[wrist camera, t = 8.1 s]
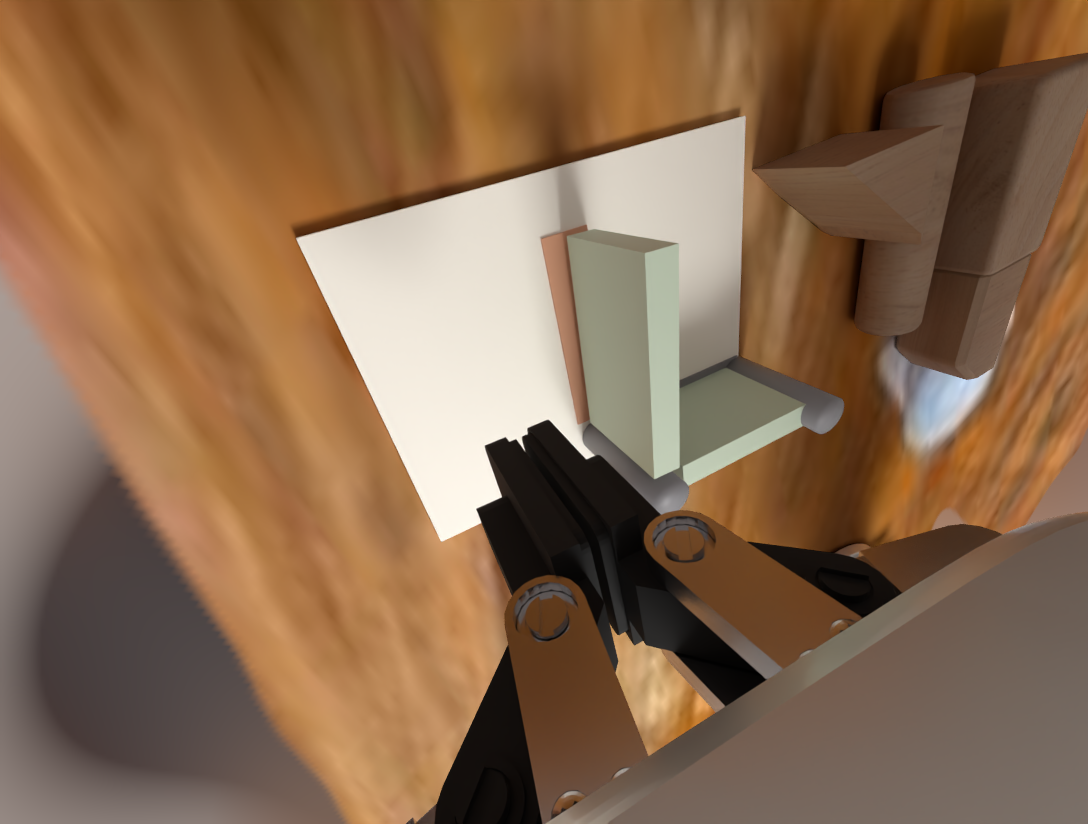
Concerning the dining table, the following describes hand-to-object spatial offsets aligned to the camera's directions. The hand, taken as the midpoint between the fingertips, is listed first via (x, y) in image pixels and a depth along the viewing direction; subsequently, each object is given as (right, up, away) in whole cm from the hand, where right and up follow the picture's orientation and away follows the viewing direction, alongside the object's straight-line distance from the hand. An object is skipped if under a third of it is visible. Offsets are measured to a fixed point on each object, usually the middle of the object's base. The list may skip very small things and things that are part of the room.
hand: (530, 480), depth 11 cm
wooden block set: (+19, +10, +16) cm, 26 cm away
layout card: (+2, +5, +9) cm, 10 cm away
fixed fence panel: (+7, +2, +13) cm, 15 cm away
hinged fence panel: (+2, +5, +8) cm, 10 cm away
